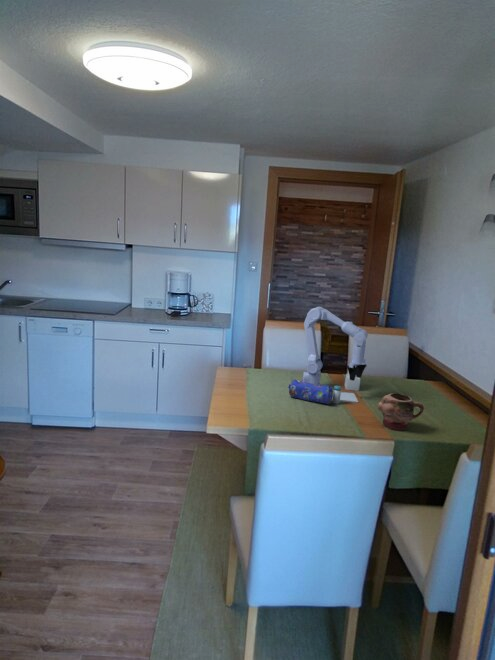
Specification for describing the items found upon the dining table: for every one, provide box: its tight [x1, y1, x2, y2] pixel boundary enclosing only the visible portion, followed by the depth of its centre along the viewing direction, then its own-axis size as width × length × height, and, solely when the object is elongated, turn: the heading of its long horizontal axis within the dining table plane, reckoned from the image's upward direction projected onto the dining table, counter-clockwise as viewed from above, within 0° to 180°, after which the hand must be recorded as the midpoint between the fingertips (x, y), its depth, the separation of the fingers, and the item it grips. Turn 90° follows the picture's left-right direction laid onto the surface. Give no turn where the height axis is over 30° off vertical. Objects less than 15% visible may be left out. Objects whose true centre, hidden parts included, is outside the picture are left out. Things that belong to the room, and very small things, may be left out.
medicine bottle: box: [344, 370, 361, 392], centre depth 240 cm, size 7×7×12 cm
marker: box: [332, 385, 342, 405], centre depth 217 cm, size 4×4×8 cm
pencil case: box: [287, 378, 334, 405], centre depth 218 cm, size 22×9×10 cm, turn 66°
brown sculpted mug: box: [376, 392, 425, 431], centre depth 193 cm, size 20×12×14 cm, turn 93°
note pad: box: [340, 391, 359, 404], centre depth 226 cm, size 9×13×1 cm
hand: (355, 378), depth 226 cm, fingers open, 7 cm apart
